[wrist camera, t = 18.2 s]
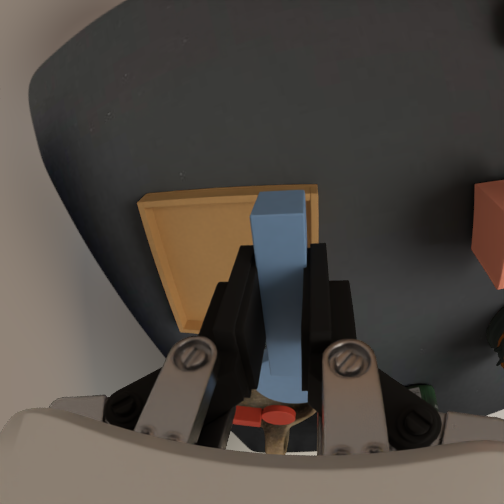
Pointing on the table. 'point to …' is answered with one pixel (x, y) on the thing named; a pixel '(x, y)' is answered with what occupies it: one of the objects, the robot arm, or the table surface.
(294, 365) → the blue paddle
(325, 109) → the table surface
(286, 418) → the red spoon
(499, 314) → the mug
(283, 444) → the bowl
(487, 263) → the pink cube teapot
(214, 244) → the tray
